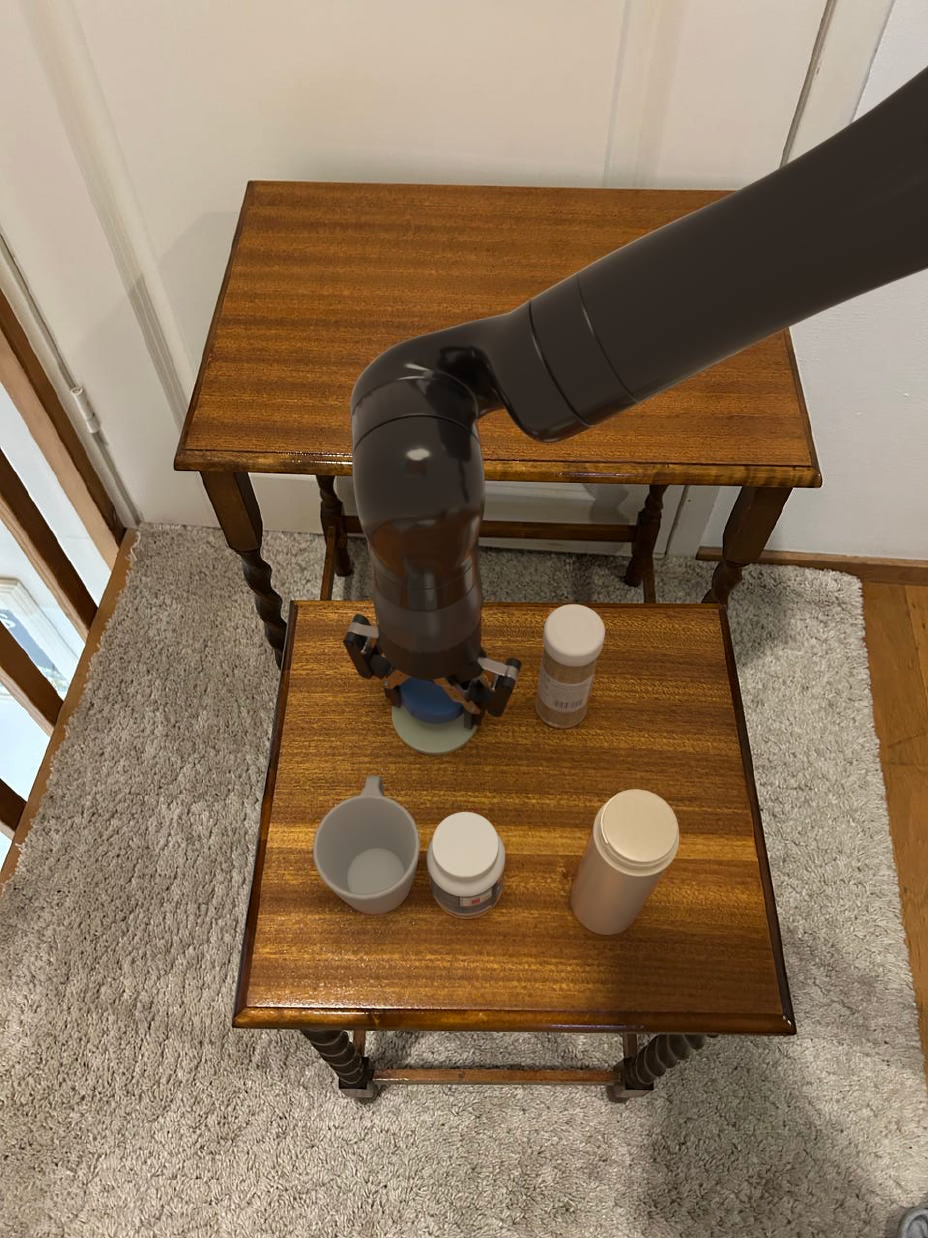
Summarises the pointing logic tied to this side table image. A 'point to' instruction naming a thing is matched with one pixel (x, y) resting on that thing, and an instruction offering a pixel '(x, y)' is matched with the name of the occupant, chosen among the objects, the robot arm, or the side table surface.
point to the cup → (368, 850)
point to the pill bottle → (466, 865)
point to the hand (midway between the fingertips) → (435, 708)
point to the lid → (429, 702)
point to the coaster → (430, 733)
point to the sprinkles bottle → (568, 664)
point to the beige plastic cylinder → (623, 860)
